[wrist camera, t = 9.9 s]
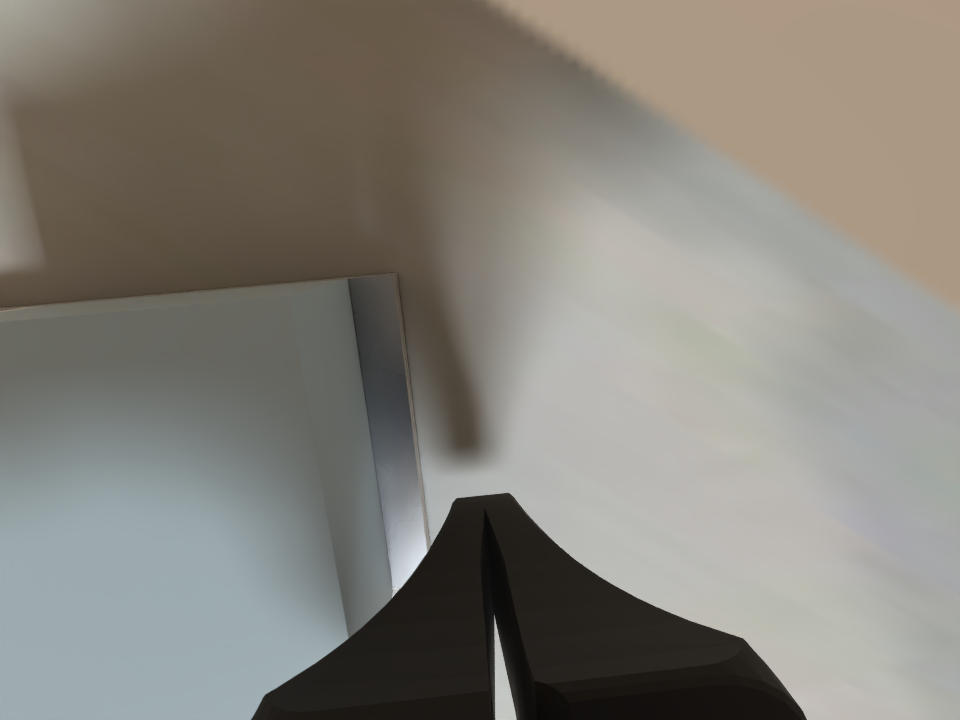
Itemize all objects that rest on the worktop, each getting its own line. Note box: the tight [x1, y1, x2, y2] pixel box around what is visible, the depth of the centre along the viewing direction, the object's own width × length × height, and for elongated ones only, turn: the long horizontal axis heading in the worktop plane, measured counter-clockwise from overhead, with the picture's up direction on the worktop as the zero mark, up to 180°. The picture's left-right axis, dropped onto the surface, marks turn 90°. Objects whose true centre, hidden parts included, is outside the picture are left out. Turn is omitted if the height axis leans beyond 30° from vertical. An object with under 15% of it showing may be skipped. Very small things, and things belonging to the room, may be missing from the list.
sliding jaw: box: [0, 279, 393, 720], centre depth 10 cm, size 8×7×4 cm
